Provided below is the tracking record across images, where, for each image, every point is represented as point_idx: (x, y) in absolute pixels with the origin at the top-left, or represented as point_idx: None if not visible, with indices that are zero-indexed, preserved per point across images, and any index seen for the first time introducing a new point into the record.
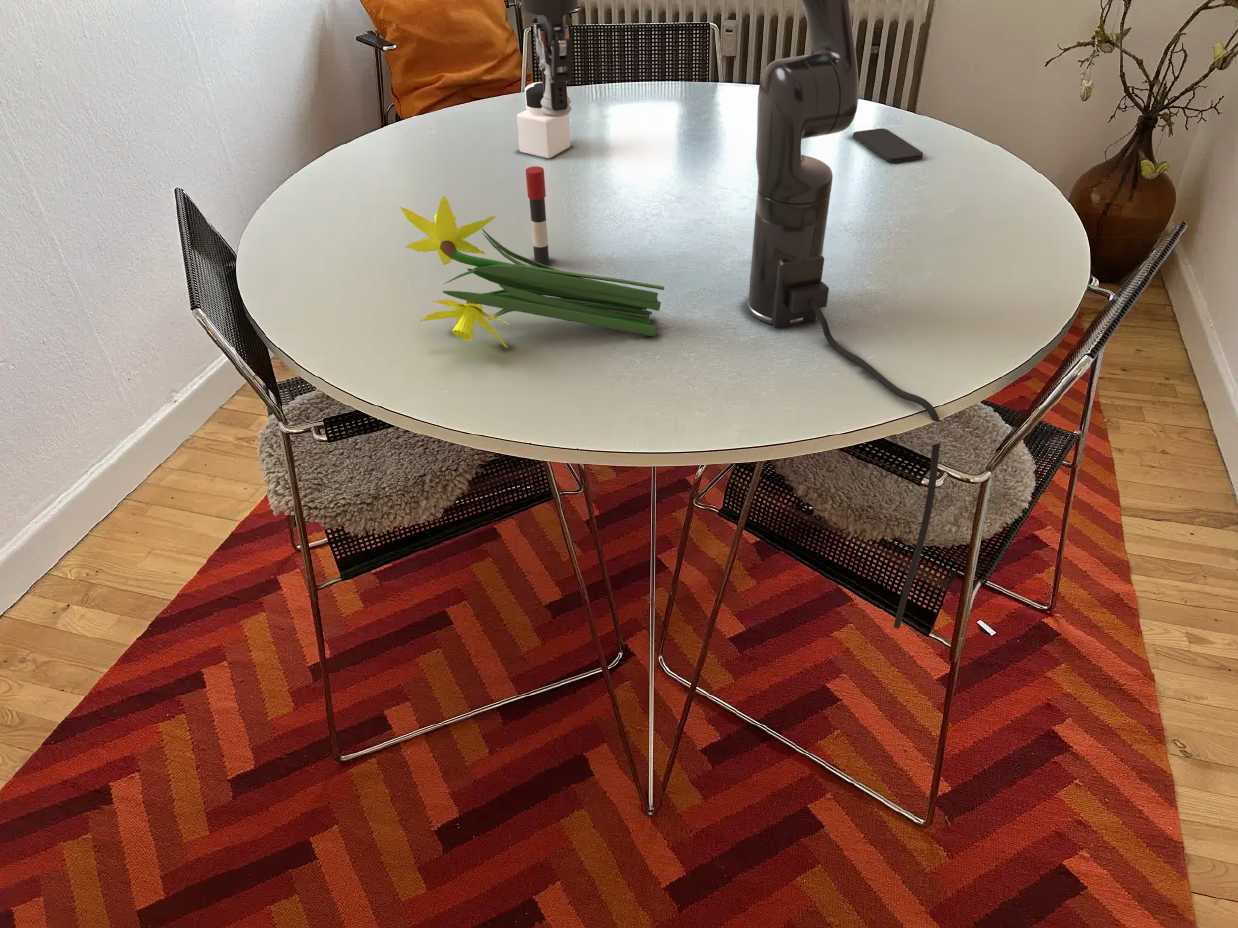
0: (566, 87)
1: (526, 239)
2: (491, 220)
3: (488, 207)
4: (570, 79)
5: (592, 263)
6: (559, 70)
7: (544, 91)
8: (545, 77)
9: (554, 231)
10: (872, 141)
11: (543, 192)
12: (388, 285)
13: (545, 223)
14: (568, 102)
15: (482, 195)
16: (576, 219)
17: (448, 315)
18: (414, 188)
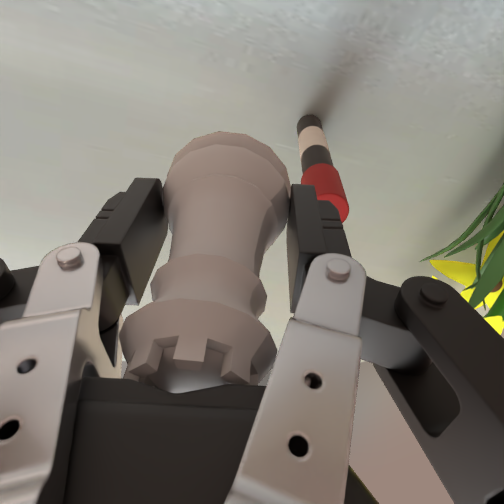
0: (324, 237)
1: (216, 129)
2: (493, 317)
3: (82, 159)
4: (452, 291)
5: (354, 34)
6: (248, 299)
7: (160, 247)
8: (143, 282)
9: (197, 71)
10: None
11: (338, 176)
12: (286, 296)
13: (326, 146)
14: (269, 170)
15: (32, 158)
16: (150, 4)
17: (466, 295)
18: (14, 238)
